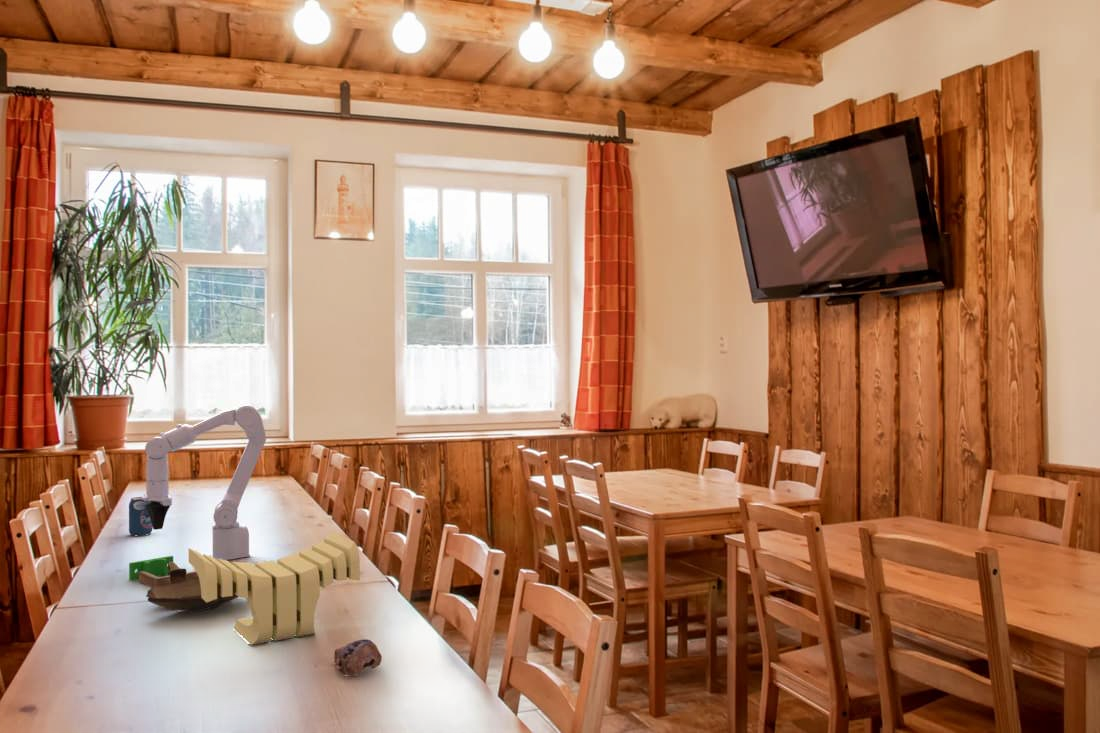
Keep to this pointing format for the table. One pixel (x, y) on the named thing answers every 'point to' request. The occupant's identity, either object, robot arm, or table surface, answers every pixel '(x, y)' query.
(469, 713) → the table surface
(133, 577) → the pipe clamp
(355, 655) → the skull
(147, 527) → the soda can
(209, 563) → the slatted curved stool
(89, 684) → the table surface
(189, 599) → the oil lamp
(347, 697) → the table surface
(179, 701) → the table surface
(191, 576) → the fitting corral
